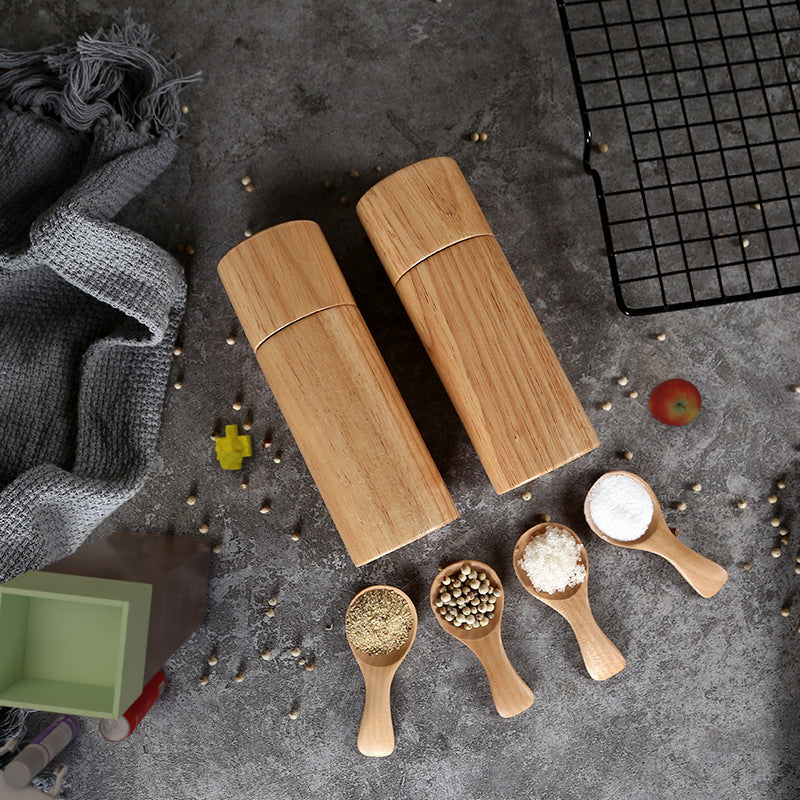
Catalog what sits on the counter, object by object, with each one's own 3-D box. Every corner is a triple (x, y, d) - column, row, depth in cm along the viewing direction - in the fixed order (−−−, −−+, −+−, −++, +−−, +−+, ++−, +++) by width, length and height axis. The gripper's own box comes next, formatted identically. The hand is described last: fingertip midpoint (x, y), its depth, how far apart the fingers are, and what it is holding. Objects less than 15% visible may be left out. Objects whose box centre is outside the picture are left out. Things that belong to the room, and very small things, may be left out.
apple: (695, 392, 114) (722, 392, 104) (673, 432, 114) (698, 436, 104) (655, 370, 114) (677, 369, 104) (633, 411, 114) (653, 413, 104)
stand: (113, 610, 118) (22, 676, 91) (121, 529, 117) (32, 572, 90) (204, 620, 117) (140, 690, 90) (212, 539, 117) (150, 586, 90)
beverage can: (163, 661, 118) (125, 701, 103) (172, 695, 118) (136, 740, 103) (132, 669, 118) (90, 710, 103) (141, 703, 118) (101, 749, 103)
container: (53, 736, 119) (1, 786, 104) (57, 711, 118) (4, 758, 103) (78, 739, 118) (29, 791, 103) (81, 715, 118) (32, 762, 103)
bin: (20, 678, 91) (-15, 704, 83) (30, 570, 90) (-4, 586, 83) (142, 693, 90) (117, 720, 83) (152, 584, 90) (129, 601, 83)
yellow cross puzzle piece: (248, 423, 116) (236, 425, 108) (253, 466, 116) (241, 472, 109) (217, 426, 116) (202, 429, 109) (221, 469, 117) (207, 475, 109)
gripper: (31, 871, 98) (92, 777, 107) (-86, 808, 98) (-15, 720, 108) (36, 874, 102) (94, 783, 112) (-76, 814, 103) (-8, 729, 112)
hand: (40, 752), depth 110 cm, fingers open, 8 cm apart
